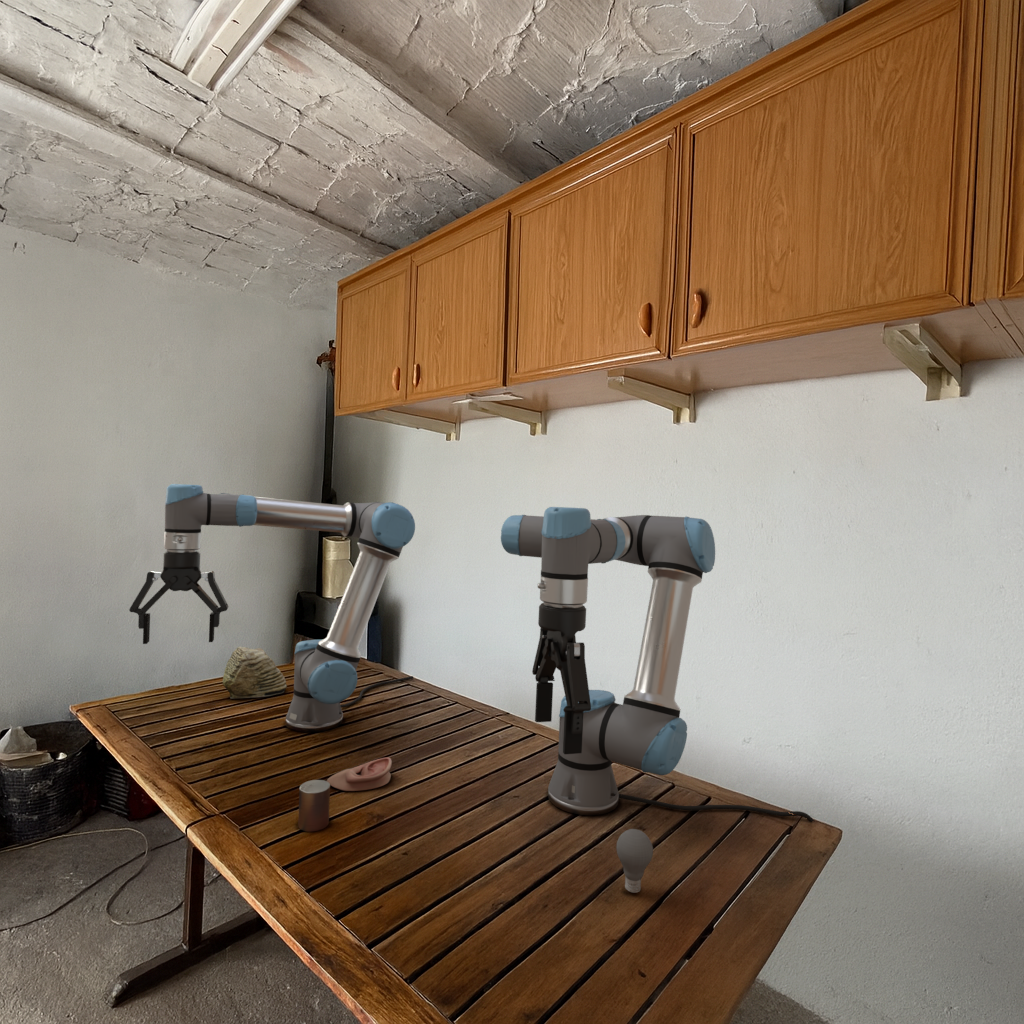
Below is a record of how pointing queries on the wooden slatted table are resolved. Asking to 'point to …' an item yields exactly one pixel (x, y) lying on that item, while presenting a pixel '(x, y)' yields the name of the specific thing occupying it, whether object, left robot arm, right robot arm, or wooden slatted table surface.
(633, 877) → the light bulb
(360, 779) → the anatomical model
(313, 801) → the canister
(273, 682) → the fossil
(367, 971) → the wooden slatted table surface
